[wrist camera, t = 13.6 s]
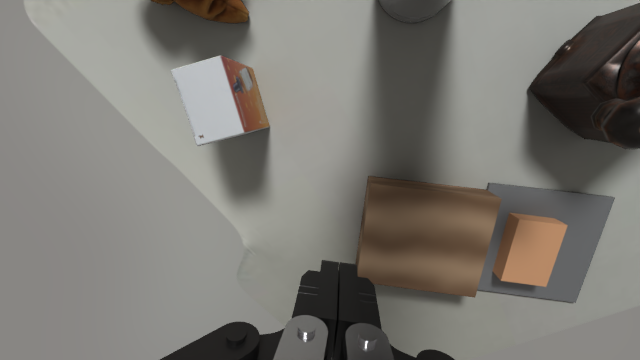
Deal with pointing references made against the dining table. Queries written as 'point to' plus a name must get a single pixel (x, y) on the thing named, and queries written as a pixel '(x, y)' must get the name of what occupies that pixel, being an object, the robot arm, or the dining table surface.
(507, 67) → the dining table surface
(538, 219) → the orange tan block
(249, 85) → the small box
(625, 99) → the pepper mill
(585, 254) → the mat
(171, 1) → the brown teddy bear
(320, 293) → the robot arm
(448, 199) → the brown box
